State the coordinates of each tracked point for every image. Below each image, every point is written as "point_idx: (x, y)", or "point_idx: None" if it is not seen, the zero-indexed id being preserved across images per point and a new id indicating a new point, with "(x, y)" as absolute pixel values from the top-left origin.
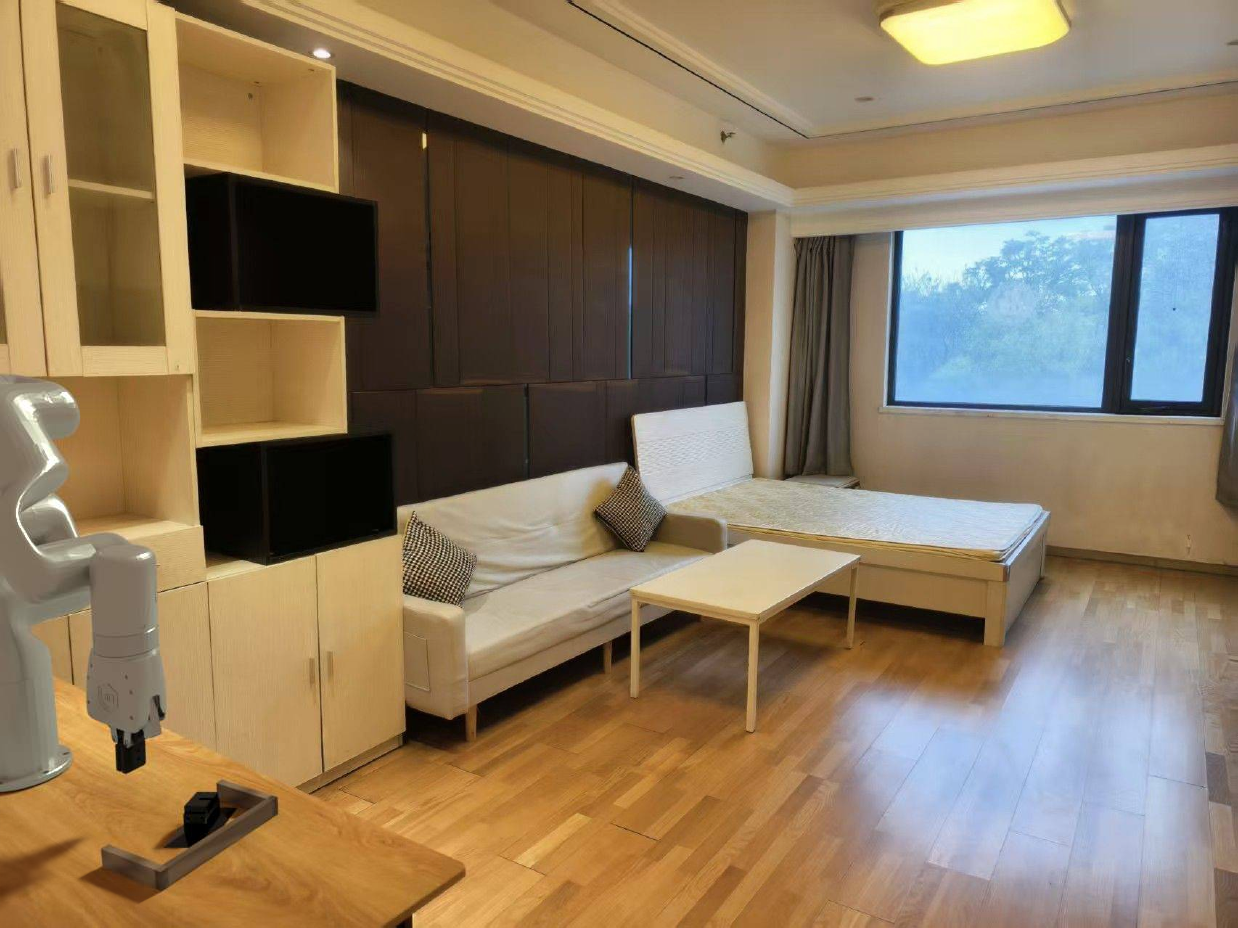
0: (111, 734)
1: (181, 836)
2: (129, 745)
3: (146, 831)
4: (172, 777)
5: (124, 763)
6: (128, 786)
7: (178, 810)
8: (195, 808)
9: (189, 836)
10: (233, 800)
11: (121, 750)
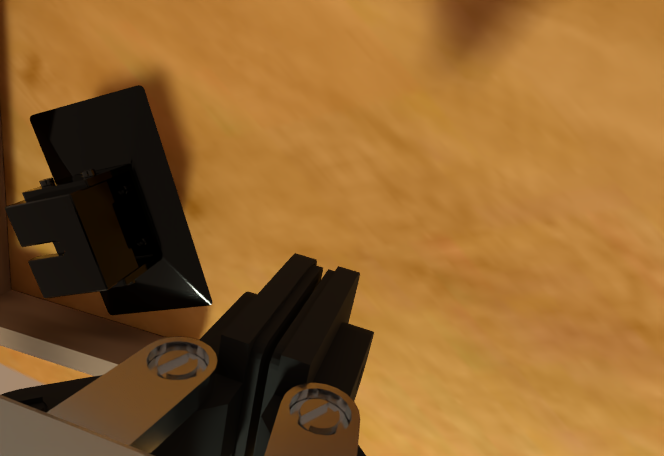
0: (354, 445)
1: (127, 145)
2: (154, 342)
3: (262, 154)
4: (414, 440)
5: (271, 279)
6: (528, 383)
7: (255, 278)
8: (39, 198)
9: (104, 150)
10: (121, 333)
11: (255, 325)
